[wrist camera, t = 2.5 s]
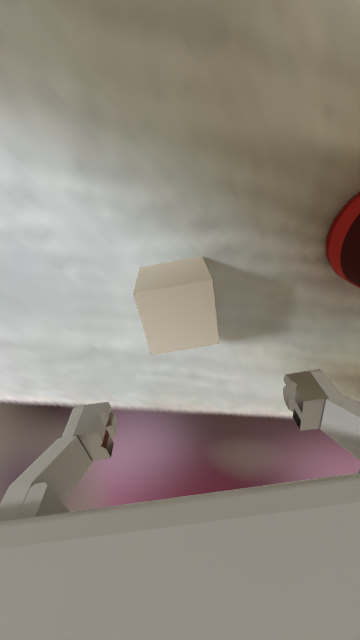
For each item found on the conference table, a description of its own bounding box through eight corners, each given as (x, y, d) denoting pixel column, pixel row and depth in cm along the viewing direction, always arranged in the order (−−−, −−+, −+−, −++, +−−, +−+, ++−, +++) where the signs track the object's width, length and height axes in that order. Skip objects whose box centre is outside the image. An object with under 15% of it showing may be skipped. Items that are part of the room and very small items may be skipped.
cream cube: (139, 267, 20) (133, 293, 15) (201, 255, 20) (212, 279, 15) (153, 319, 22) (151, 355, 18) (208, 310, 22) (219, 343, 18)
